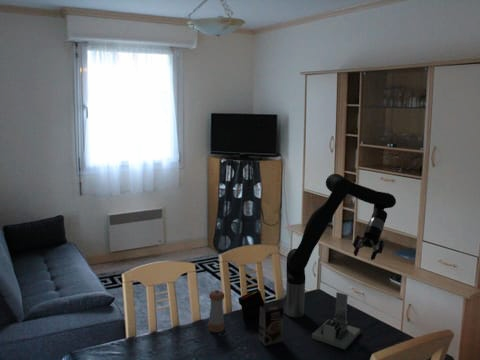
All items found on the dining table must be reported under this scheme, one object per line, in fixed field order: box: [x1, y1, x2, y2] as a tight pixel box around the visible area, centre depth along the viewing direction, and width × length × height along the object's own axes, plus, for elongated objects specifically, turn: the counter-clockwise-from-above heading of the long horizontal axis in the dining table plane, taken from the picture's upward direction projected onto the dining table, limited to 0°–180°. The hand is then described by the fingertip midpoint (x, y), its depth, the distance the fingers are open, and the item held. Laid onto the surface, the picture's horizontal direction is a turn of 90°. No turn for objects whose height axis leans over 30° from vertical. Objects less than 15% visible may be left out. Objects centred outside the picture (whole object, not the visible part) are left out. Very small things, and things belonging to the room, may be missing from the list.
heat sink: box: [321, 318, 349, 340], centre depth 217 cm, size 10×8×4 cm
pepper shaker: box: [208, 289, 225, 333], centre depth 221 cm, size 7×7×19 cm
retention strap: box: [333, 291, 349, 322], centre depth 220 cm, size 6×1×13 cm, turn 55°
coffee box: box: [258, 302, 285, 347], centre depth 212 cm, size 9×6×16 cm
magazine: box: [237, 288, 265, 322], centre depth 232 cm, size 4×13×15 cm, turn 96°
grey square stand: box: [311, 318, 361, 350], centre depth 218 cm, size 16×18×8 cm
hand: (363, 257), depth 229 cm, fingers open, 8 cm apart
